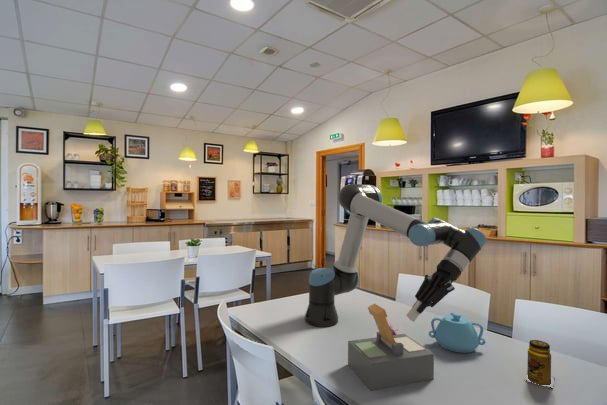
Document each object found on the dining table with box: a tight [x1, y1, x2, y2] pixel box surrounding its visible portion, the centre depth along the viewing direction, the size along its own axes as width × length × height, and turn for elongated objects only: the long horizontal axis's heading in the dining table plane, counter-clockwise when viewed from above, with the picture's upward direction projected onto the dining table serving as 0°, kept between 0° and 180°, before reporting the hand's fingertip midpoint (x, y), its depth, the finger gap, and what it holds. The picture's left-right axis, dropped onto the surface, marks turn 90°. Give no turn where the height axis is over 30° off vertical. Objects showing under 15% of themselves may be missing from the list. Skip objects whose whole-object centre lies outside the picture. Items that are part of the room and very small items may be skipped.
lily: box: [386, 316, 399, 335], centre depth 131 cm, size 12×12×10 cm
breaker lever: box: [367, 303, 395, 349], centre depth 109 cm, size 3×7×14 cm, turn 17°
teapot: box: [428, 312, 486, 354], centre depth 130 cm, size 20×20×13 cm
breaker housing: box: [347, 331, 435, 391], centre depth 110 cm, size 22×16×11 cm
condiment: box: [524, 339, 552, 389], centre depth 105 cm, size 7×8×12 cm
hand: (409, 318), depth 111 cm, fingers closed
